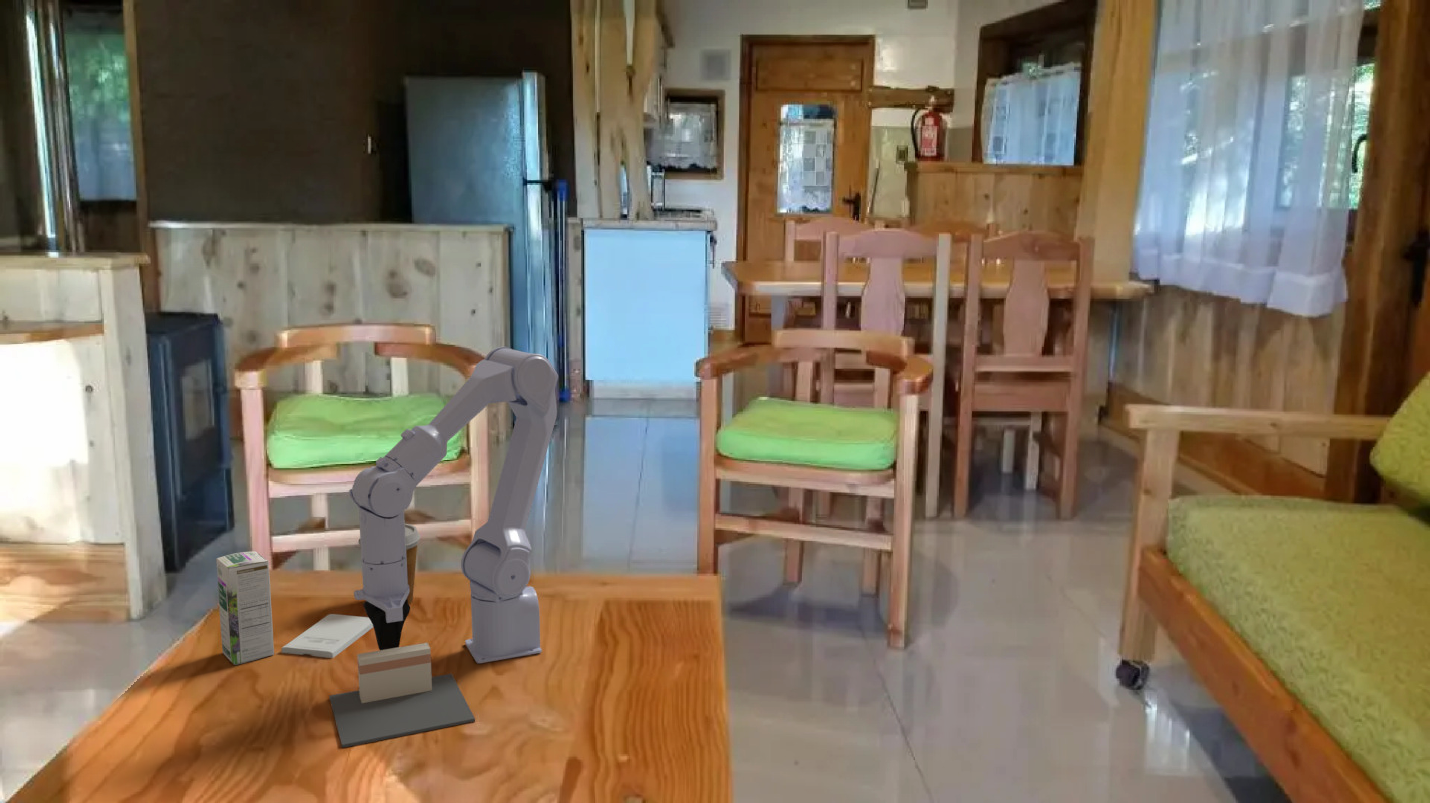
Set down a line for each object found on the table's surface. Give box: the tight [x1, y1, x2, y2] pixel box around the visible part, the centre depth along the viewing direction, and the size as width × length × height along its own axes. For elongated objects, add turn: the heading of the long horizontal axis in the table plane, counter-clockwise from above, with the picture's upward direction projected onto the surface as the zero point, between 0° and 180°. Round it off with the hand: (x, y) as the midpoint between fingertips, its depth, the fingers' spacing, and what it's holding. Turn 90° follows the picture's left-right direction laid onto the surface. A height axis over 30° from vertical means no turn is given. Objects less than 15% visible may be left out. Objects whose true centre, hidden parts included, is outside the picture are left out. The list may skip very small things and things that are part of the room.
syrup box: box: [215, 550, 275, 666], centre depth 153 cm, size 6×6×14 cm
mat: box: [329, 673, 476, 749], centre depth 139 cm, size 16×14×1 cm
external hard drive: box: [281, 613, 374, 659], centre depth 160 cm, size 2×8×12 cm
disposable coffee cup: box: [358, 523, 421, 605], centre depth 173 cm, size 10×10×12 cm
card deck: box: [356, 642, 433, 703], centre depth 142 cm, size 9×2×6 cm, turn 115°
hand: (388, 653), depth 145 cm, fingers closed
